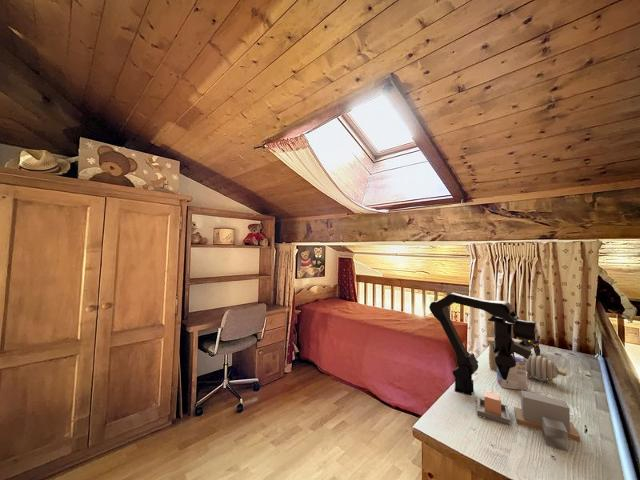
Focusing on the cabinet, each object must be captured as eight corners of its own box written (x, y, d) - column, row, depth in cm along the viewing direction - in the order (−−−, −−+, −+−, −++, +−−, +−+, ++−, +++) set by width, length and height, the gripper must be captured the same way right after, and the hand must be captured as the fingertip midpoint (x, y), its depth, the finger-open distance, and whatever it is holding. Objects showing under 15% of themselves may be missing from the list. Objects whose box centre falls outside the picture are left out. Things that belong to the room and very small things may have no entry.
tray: (477, 415, 94) (477, 410, 94) (477, 402, 102) (477, 397, 102) (509, 425, 88) (509, 419, 89) (507, 410, 97) (507, 405, 97)
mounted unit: (516, 423, 90) (516, 397, 90) (514, 410, 96) (513, 386, 97) (580, 441, 81) (579, 413, 81) (572, 426, 88) (571, 400, 88)
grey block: (546, 445, 80) (545, 425, 80) (542, 435, 84) (542, 416, 84) (567, 452, 77) (567, 431, 77) (563, 441, 82) (562, 422, 82)
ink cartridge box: (520, 384, 116) (520, 351, 116) (527, 390, 110) (527, 356, 110) (496, 381, 117) (495, 349, 118) (502, 388, 112) (501, 354, 112)
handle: (486, 369, 129) (486, 339, 129) (489, 365, 134) (488, 336, 134) (498, 372, 126) (497, 342, 126) (500, 368, 130) (499, 338, 131)
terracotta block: (484, 413, 94) (484, 396, 94) (484, 406, 99) (484, 390, 99) (501, 418, 92) (501, 401, 92) (500, 410, 96) (500, 394, 96)
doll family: (545, 367, 131) (544, 341, 132) (522, 363, 137) (522, 337, 137) (540, 352, 150) (539, 329, 151) (520, 349, 155) (520, 326, 156)
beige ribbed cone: (519, 370, 128) (519, 348, 128) (566, 382, 117) (565, 358, 117) (516, 378, 120) (516, 354, 121) (566, 392, 109) (566, 366, 109)
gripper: (533, 346, 88) (534, 392, 88) (525, 331, 104) (526, 370, 104) (494, 340, 94) (495, 382, 94) (492, 326, 110) (493, 363, 110)
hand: (503, 374), depth 100 cm, fingers open, 9 cm apart
